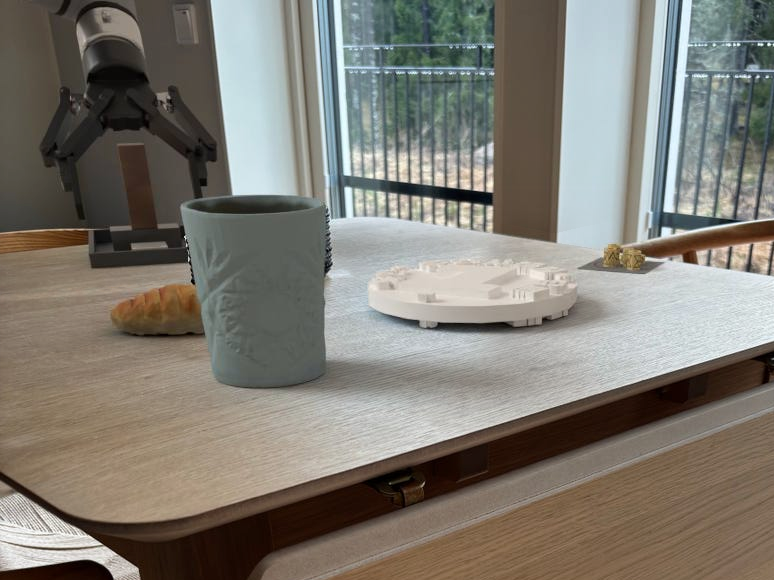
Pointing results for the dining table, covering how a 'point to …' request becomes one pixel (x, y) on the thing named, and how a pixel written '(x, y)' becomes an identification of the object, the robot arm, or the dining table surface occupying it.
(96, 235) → the tray
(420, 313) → the white round plaque
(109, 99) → the robot arm
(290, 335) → the grey-green embossed cup
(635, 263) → the dice set
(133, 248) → the beige square block
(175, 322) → the pastry
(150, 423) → the dining table surface
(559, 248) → the dining table surface
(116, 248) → the brown grey t-shaped piece
